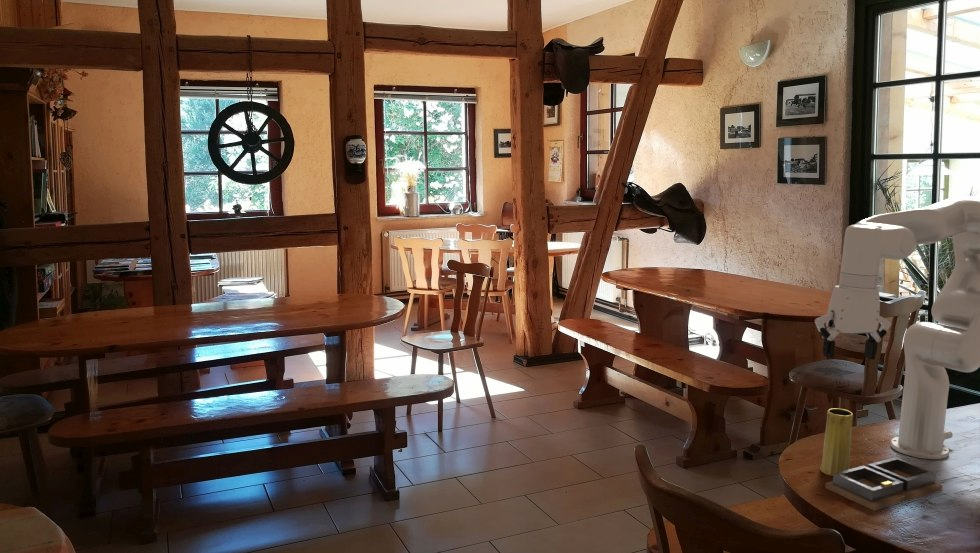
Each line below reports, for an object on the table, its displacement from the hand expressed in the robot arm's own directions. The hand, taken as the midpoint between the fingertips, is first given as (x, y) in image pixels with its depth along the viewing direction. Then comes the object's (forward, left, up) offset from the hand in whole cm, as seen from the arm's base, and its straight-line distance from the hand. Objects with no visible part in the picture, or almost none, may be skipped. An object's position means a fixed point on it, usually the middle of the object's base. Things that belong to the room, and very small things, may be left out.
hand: (848, 357), depth 179 cm
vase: (+1, 0, -27) cm, 27 cm away
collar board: (-1, +11, -27) cm, 29 cm away
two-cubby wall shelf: (-1, +11, -26) cm, 28 cm away
